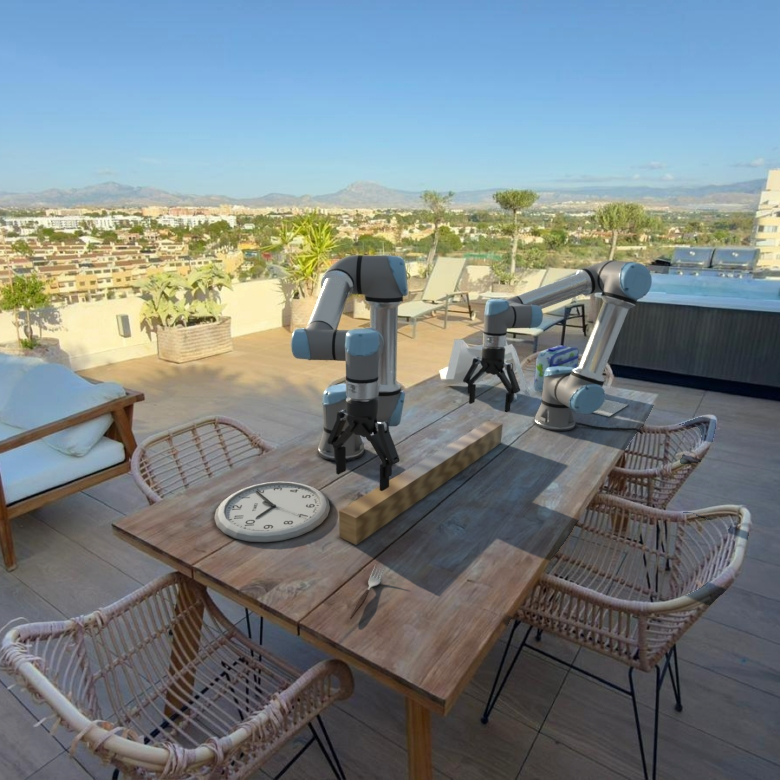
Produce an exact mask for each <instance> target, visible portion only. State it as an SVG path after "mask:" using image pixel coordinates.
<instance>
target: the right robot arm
mask: <svg viewBox="0 0 780 780" xmlns="http://www.w3.org/2000/svg"><path fill="white" fill-rule="evenodd" d="M652 282H653V279H652V274H651V273H650V270H649V268H648V267H647V266H646V265H645V264H644V263H640V262H636V261H626V260H625V261H624V260H614V259H609V260H605V261H600V262H598V263H595V264H592V265H589V266H586V267H584V268H581V269H578V270H577V271H576V272H575V274H572V275H569V276H567V277H564V278H562V279H559V280H556V281H554V282H550V283H548V284H545V285H542V286H539V287H537V288H535V289H532V290H529V291H527V292H523V293H521V294H518V295H516V296H515V295H514V296H511V297H509V298H490V299H487V301H486V302H485V307H484V313H483V314H484V318H483V319H484V320H483V336H482V345H484V346H483V347H482V359H479V357H476V358H474V359H473V362H472V365H471V367H470V369H469V371H468V372H467V374H466V376H465V378H464V379H463V382H466V383H465V384H467V394H469V397H468V404H469V405H471V404H475V402H476V401H475V400H476V388H477V387H476V385H477V383H474V382H475V381H476V380H477V379H478V378H479V377H480V376H481V375H482V374H484V373H485V372H486V373H487V375H489V374H490V375H492V376H495V375H496V377H497V378H499V380H500V382H501V383H502V385H503V386H504V388H505V390H506V391H507V392H506V394H505V404H504V413H508V412H510V411H511V404H512V403H513V402H514V400H515V397H514V393H516V394H518V393H519V392H521V388H520V384H519V382H518V380H517V376H516V373H515V371H514V364H513V362H510V363H507V364H505V363H504V358H505V348H504V347H505V346H506V340H507V333H508V332H507V331H508V330H509V329H510V330H511V329H533V328H539V327H540V326H541V324H542V323H543V320H544V314H543V313H544V312H543V309H547V308H549V307H551V306H554V305H557V304H559V303H562V302H565V301H567V300H570V299H573V298H576V297H579V296H582V295H583V296H589V295H592V294H600V297H601V300H602V305H601V307H600V309H599V312H598V315H597V317H596V320H595V323H594V325H593V327H592V330H591V333H590V335H589V338H588V340H587V343H586V345H585V348H584V350H583V353H582V356H581V358H580V361H579V362H578V367H577V368H573V367H562V366H557V367H549V368H547V369H546V370H545V373H544V382H543V392H541V393H542V394H541V402H540V405H539V407H538V410H537V411H536V413H535V417H534V424H535V425H536V426H537V427H539V428H542V429H544V430H549V431H556V432H567V431H572V430H574V429H575V428H576V425H577V426H581V427H587V428H590V429H591V428H592V429H597V430H609V431H635V432H638V433H639V434H641V435H643V434H644V432H643V431H642V430H641V429H639V428H636V427H609V426H600V425H599V426H598V425H592V424H587V423H583V422H577V421H576V418H575V417H576V416H575V413H574V412H577V413H579V414H581V415H590V414H594V413H593V412H594V411H596V410H598V409H599V408H600V407H601V406H602V404H603V403H604V400H605V399H606V393H605V389H604V384H605V381H606V380H605V378H604V375H603V374H604V371H605V369H606V366H607V365H608V362H609V359H610V357H611V354H612V352H613V349H614V348H615V347H614V346H615V345H616V342H617V339H618V336H619V333H621V330H622V327H623V325H624V322H625V320H626V317H627V314H628V312H629V310H631V309H632V308H635V307H636V305H637V302H638V300H641V299H643V298H644V297H645V296H647V294H648V293H649V292H650V290H651V288H652ZM480 363H481V365H482V368H481V369H480V370H479V372H478V373H477V374H476V375H475V376H474V377H473V378H472V379H471V380H470V378H471V377H472V375H473V373H474V371H475V370H476V368H477V366H478V364H480ZM504 367H505V370H507V374H508V377H509V380H510V381H509V380H508V378H507V377H506V375H505V372H504V370H503V368H504Z"/></svg>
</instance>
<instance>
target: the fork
mask: <svg viewBox="0 0 780 780" xmlns="http://www.w3.org/2000/svg"><path fill="white" fill-rule="evenodd" d="M376 565H377V564H376V563H375V564H374V567H373V569H372V571H371V574H370V576H369V578H368V581H367V583H368V587H367V588H366V590H365V591H364V592H363V594H362V595H361V596H360V597H359V598H358V600H357V603H356V605H355V607H354V608H353V611H352V613H351V616H350V618H349V620H352V619H353V617H354V616H355V615H356V614H357V612H358V611H359V609H360V608H361V607H362V606H363V604H364V603H365V602H366V600H367V598H368V594H369V592H370V590H371V588H373V587H376V586H378V585H380V584H381V581H382V578H383V575H384V571H385V567H386V566H383V568H382V565H381V566H380V568H379V564H378V565H377V568H376ZM375 568H376V570H375ZM378 570H379V571H378ZM381 570H382V571H381Z"/></svg>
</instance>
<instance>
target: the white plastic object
mask: <svg viewBox="0 0 780 780" xmlns="http://www.w3.org/2000/svg"><path fill="white" fill-rule="evenodd" d="M483 346H484V345H483V344H479V345H473V346H469V345H468V343H466V342H465V340H464V339H463V338H460V339H458V338H454V340H453V344H452V349H451V353H450V357H449V362H448V366H446V367H444V368H442V369H440V370H439V371H438V372H439V376H440V381H442V383H443V384H444V385H445V386H449V385H458V384H467V383H466V382H463V379H464V378H465V376H466V374H467V372H468V371H469V369H470V367H471V365H472V362H473V359H474V358H476V357H479V359H482V347H483ZM504 348H505V358H504V363H505V364H508V361H510V360H513V363H514V366H515V369H516V372H517V376H518V380H519V382H520V385H521V389H522V391H523V393H524V395H525V396H526V397H528V396H531V395H530V390H529V388H528V387H529V386H528V384H527V381H526V378H525V375H524V371H523V369H522V368H523V367H522V366H521V362H520V359H519V355H518V352H517V349H516V347H515V346H514V345H513V343H511V344H508V341H507V339H506V346H505V347H504ZM481 368H482V365H481V363H480V364H478V366H477V368H476V370H475V371H474V373H473V375H472V377H471V378H470V380H471V379H472V378H473V377H474V376H475V375H476V374H477V373H478V372H479V370H480V369H481ZM503 371H504V372H505V375H506V377H507V378H508V380H509V377H508V374H507V370H505V367H504V368H503ZM487 375H488V374H487V373H486V372H485V373H484V374H482V375H481V376H480V377H479V378H478V379H477V380H476V381H475V382H474V383H473V384H477V383H480V382H482V381H484V378H485V377H486V376H487ZM509 381H510V380H509ZM514 400H517V393H514Z"/></svg>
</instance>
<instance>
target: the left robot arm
mask: <svg viewBox="0 0 780 780" xmlns="http://www.w3.org/2000/svg"><path fill="white" fill-rule="evenodd" d="M408 285H409V284H408V274H407V266H406V261H405V259H404V258H403V257H402V256H398V255H390V254H389V255H387V254H385V255H383V254H381V255H378V254H377V255H375V254H373V255H371V254H370V255H369V254H367V255H365V254H363V255H362V254H351V255H347V256H345V257H342V258H340V259H338V260H337V261H336V262H334V263H333V264H332V265H331V266H329V267H328V268H327V270H326V271H325V272H324V273H323V276H322V278H321V281H320V293H319V294H318V297H317V299H316V302H315V305H314V307H313V310H312V312H311V315H310V317H309V320H308V323H307V325H306V327H302V328H295V329H294V331H293V332H292V334H291V340H290V348H291V349H290V350H291V354H292V356H293V357H294V358H295V359H298V360H307V361H335V362H336V361H337V362H345V382H344V383H338V384H334V385H330V386H329V387H327V388H325V389H324V391H323V394H322V402H321V404H322V425H323V432H322V435H321V438H320V441H319V444H318V455H319V457H321V458H322V459H324V460H326V461H330V462H335V473H336V475H341V474H343V473H345V472H346V471H347V462H351V461H354V460H357V459H359V458H361V457H362V456H363V455H364V453H365V442H364V441H363V439H362V438H365V439H366V440H367V441H368V442H369V443H370V444H371V446H372V448H373V449H374V451H375V453H376V455H377V456H378V458H379V460H380V462H381V464H379V486H380V491H383V490H385V489H387V488H388V487H389V480H390V477H392V475H393V466H395V465H396V464H398V463H399V462H400V456H399V454H398V451H397V448H396V446H395V443H394V441H393V438H392V435H391V432H390V427H398V426H399V425H400V424H401V421H402V415H403V409H404V403H405V397H406V391H404V390H402V385H401V384H400V383H399V382H398V381H397V370H398V369H397V368H398V367H397V365H398V321H399V320H398V317H399V313H398V312H399V306H400V305H401V304H402V303H404V297H406V296H408V294H409V286H408ZM351 295H364V302H365V303H366V304H367V305H368V306H369V327H366V328H353V329H338V328H339V326H340V325H339V324H340V321H341V318H342V315H343V312H344V308H345V306H346V302H347V299H349V298H350V297H351Z"/></svg>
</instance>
